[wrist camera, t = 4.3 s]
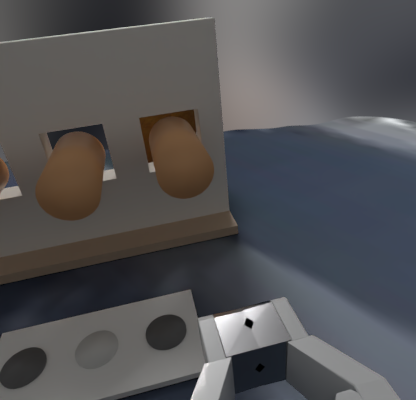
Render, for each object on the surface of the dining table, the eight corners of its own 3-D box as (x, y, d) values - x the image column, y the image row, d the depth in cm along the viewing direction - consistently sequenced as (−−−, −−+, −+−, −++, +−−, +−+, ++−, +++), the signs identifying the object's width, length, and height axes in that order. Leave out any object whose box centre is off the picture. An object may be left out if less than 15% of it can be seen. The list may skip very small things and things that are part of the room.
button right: (161, 203, 22) (151, 150, 20) (153, 164, 27) (144, 120, 25) (216, 192, 22) (211, 140, 20) (197, 156, 28) (191, 113, 26)
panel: (-45, 294, 25) (-191, 68, 17) (-13, 240, 31) (-111, 54, 23) (238, 233, 29) (224, 18, 21) (217, 195, 35) (200, 17, 27)
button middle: (47, 225, 21) (25, 172, 19) (63, 180, 26) (47, 135, 24) (107, 214, 21) (92, 160, 19) (110, 172, 27) (98, 127, 25)
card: (-32, 439, 16) (-38, 433, 16) (4, 337, 21) (1, 331, 21) (211, 373, 18) (210, 367, 18) (191, 293, 23) (190, 287, 23)
